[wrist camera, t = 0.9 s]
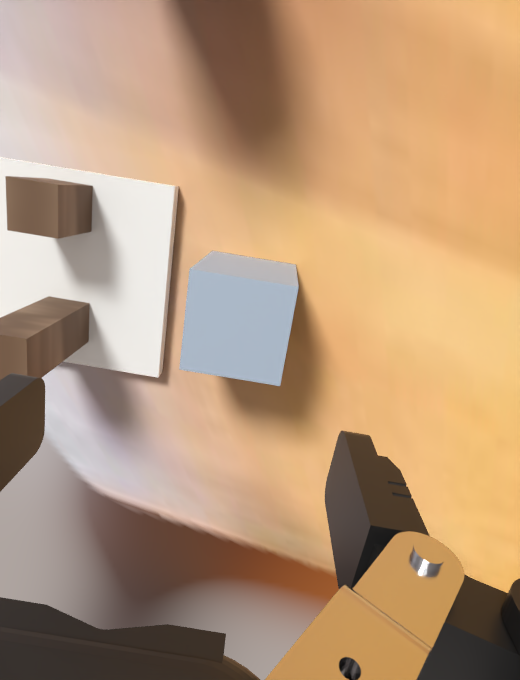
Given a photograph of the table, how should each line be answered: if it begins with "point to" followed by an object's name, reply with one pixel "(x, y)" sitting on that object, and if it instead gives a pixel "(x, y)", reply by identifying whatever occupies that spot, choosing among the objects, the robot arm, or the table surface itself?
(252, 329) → the pastel blue cube
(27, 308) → the walnut post
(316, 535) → the table surface
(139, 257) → the board
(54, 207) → the short post
